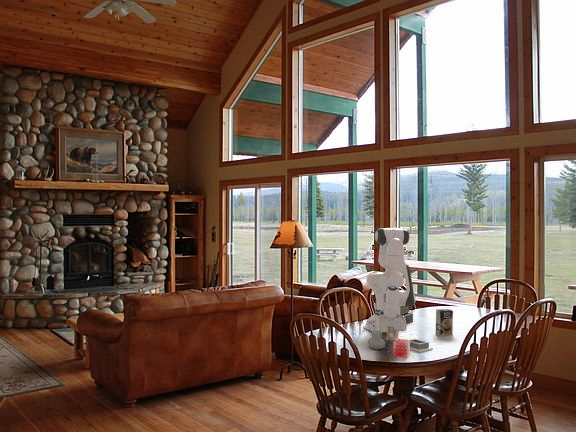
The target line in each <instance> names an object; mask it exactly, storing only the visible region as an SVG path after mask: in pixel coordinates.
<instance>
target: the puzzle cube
mask: <svg viewBox="0 0 576 432" xmlns="http://www.w3.org/2000/svg"><path fill="white" fill-rule="evenodd" d="M410 340H411V339H405V338H404V339H403V338H398V339H395V340H394V341H393V344H392V345H393V347H392V356H393V357H401V358H408V357H409V356H410V354H411V350H410Z"/></svg>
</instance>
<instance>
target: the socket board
mask: <svg viewBox="0 0 576 432" xmlns="http://www.w3.org/2000/svg"><path fill="white" fill-rule="evenodd" d="M409 340H410V351H414V352H418V353H422V352H427V351H432V350H434V347H432V346H431V347H430V342H429V341H425V340H422V339H418V338H413V339H409Z"/></svg>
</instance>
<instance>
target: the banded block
mask: <svg viewBox="0 0 576 432" xmlns="http://www.w3.org/2000/svg"><path fill="white" fill-rule="evenodd" d="M385 333H386V339H385V344H389V345H393V341H394V340H395V339H399V336H398V337H394V334H395V330H394V329H393V327H389V326H387V332H385Z"/></svg>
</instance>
